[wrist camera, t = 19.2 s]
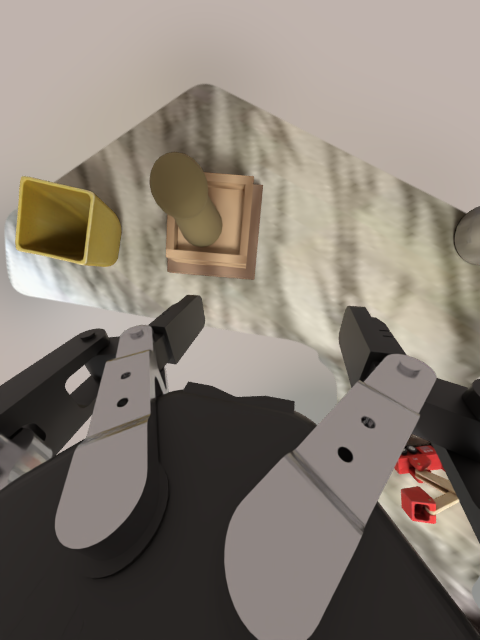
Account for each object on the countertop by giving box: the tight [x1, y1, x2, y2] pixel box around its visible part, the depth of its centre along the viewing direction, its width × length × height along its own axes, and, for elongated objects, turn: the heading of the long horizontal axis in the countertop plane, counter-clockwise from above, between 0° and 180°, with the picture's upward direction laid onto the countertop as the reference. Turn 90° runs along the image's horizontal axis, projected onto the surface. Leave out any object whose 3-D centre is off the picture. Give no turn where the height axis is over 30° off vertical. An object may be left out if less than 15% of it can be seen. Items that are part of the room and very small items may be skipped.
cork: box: [150, 152, 223, 247], centre depth 22 cm, size 6×6×11 cm
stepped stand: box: [166, 172, 263, 280], centre depth 29 cm, size 14×14×6 cm
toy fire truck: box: [394, 443, 460, 524], centre depth 31 cm, size 3×14×10 cm, turn 98°
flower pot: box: [15, 176, 121, 267], centre depth 28 cm, size 9×9×9 cm
